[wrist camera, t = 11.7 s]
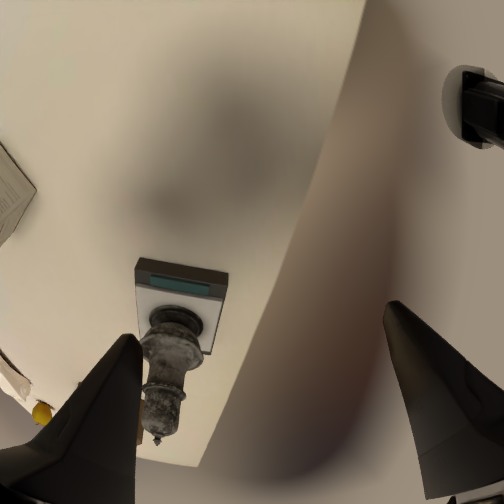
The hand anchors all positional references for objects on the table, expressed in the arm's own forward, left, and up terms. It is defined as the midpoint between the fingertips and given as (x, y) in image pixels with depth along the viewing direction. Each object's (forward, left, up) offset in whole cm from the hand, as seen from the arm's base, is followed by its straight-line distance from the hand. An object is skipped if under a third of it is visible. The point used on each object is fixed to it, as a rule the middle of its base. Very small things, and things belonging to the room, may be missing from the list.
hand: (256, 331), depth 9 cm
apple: (+68, +50, -13) cm, 85 cm away
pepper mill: (+9, +12, -11) cm, 18 cm away
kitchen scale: (+9, +12, -13) cm, 19 cm away
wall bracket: (+60, +21, -13) cm, 65 cm away
